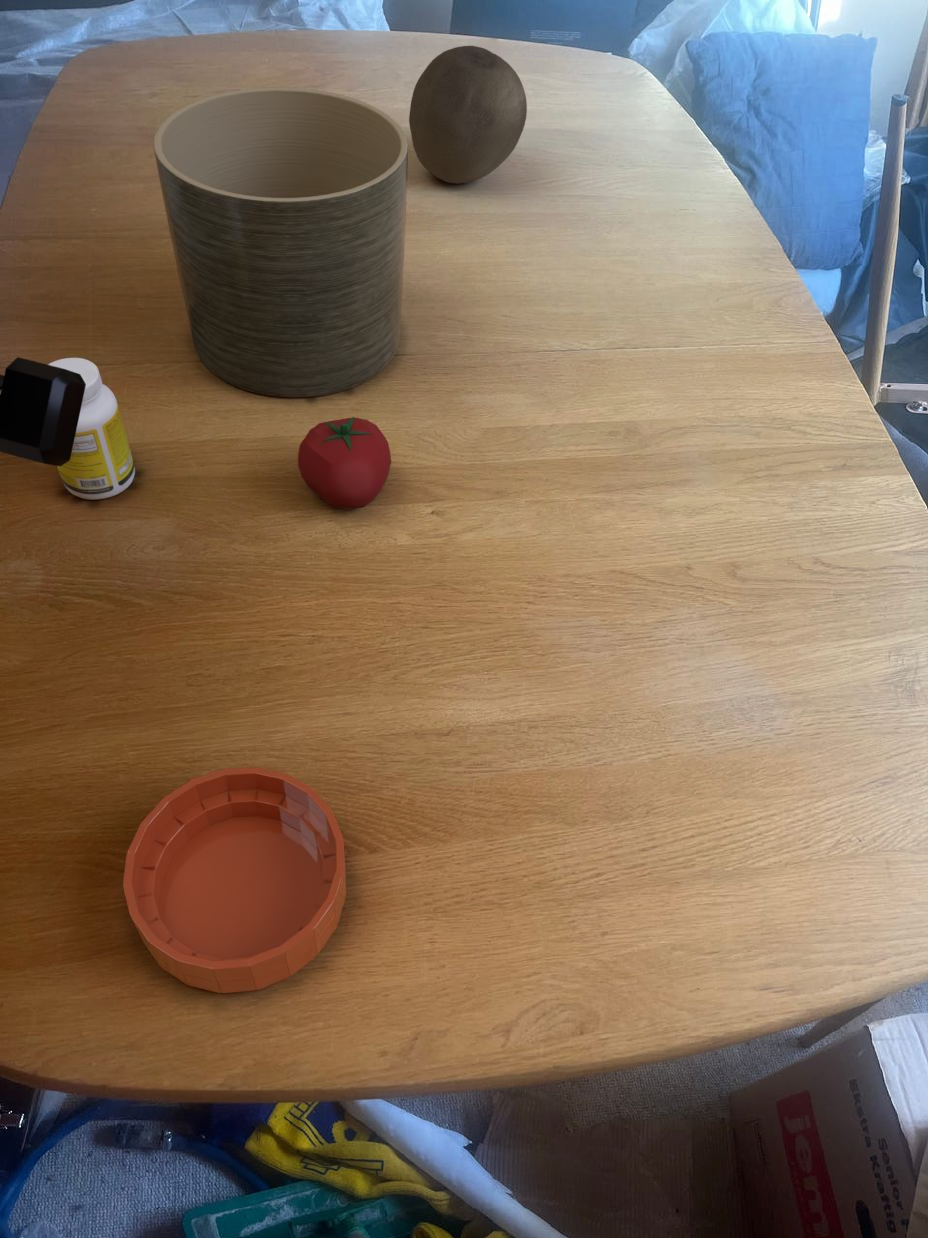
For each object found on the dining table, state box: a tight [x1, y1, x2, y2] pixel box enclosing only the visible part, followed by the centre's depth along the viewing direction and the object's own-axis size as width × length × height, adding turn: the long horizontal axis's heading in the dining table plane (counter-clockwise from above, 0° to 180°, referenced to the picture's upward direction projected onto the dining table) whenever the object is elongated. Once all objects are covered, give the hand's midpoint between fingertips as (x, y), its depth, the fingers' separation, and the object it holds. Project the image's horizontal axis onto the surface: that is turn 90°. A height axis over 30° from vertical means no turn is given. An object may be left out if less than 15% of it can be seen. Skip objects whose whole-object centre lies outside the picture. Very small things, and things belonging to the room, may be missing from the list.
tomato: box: [297, 416, 392, 510], centre depth 83 cm, size 8×8×7 cm
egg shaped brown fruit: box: [408, 45, 528, 184], centre depth 119 cm, size 14×14×15 cm
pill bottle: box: [47, 357, 136, 501], centre depth 81 cm, size 6×6×11 cm
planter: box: [152, 86, 409, 398], centre depth 93 cm, size 22×22×20 cm
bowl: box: [122, 766, 347, 994], centre depth 60 cm, size 13×13×4 cm
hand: (20, 406), depth 71 cm, fingers open, 9 cm apart
